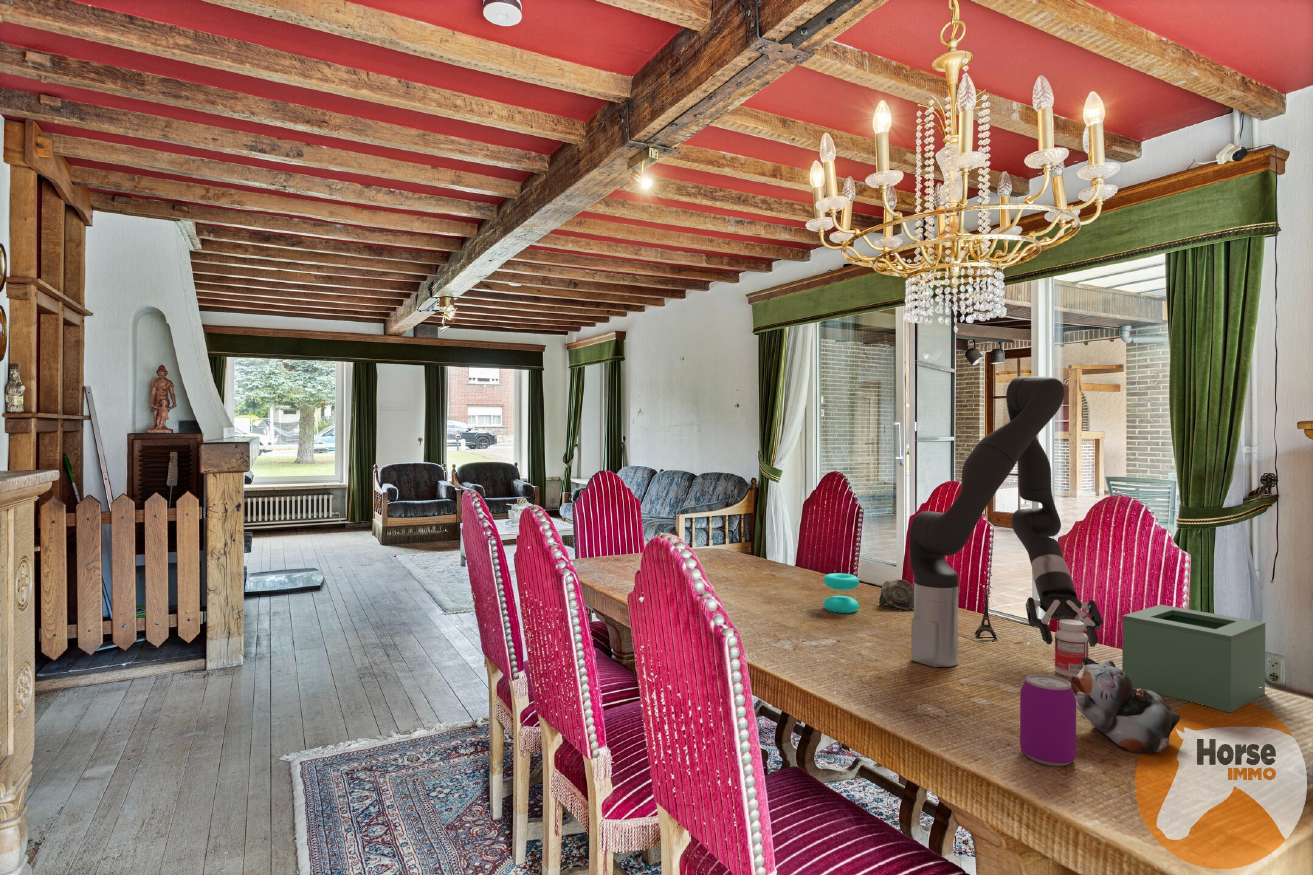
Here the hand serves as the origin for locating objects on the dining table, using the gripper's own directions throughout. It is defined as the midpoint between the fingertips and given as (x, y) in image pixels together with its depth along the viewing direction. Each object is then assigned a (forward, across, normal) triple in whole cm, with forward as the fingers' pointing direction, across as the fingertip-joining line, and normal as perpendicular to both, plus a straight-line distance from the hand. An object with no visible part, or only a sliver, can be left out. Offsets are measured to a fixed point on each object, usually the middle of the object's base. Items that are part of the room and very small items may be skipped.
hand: (1071, 643), depth 151 cm
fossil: (-34, -28, +43) cm, 61 cm away
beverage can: (+36, -19, -27) cm, 49 cm away
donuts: (-29, -45, +38) cm, 65 cm away
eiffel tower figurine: (-14, -11, +24) cm, 29 cm away
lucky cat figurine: (+29, -4, -19) cm, 35 cm away
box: (+8, +20, +1) cm, 22 cm away
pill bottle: (+5, 0, +5) cm, 7 cm away
